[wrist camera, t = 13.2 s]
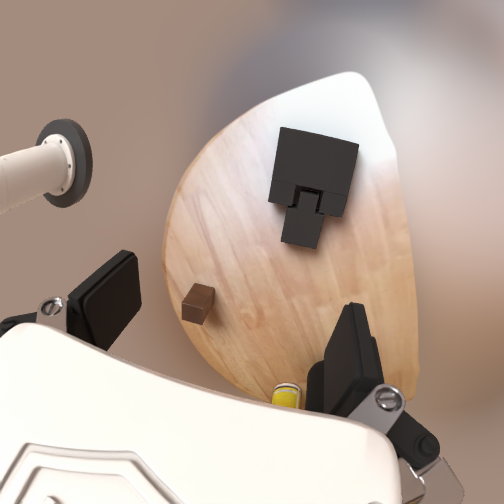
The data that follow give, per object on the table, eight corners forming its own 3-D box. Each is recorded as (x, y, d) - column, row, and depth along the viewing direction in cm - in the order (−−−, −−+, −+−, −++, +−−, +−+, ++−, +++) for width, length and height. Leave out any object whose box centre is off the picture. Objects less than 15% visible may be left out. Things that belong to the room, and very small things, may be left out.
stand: (194, 299, 48) (181, 319, 43) (194, 282, 47) (181, 302, 41) (213, 304, 48) (202, 325, 43) (214, 287, 46) (203, 308, 41)
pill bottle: (268, 386, 56) (260, 427, 46) (291, 378, 53) (285, 421, 44) (284, 399, 57) (278, 438, 48) (306, 392, 55) (302, 433, 45)
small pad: (315, 242, 39) (315, 249, 37) (281, 235, 40) (280, 241, 38) (327, 193, 36) (328, 198, 34) (291, 186, 37) (290, 190, 34)
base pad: (270, 197, 38) (267, 201, 36) (282, 127, 33) (280, 126, 31) (339, 212, 37) (342, 218, 35) (355, 143, 32) (359, 144, 30)
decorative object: (303, 369, 52) (297, 432, 38) (316, 349, 48) (313, 416, 35) (331, 376, 51) (331, 437, 38) (346, 357, 48) (350, 422, 35)
